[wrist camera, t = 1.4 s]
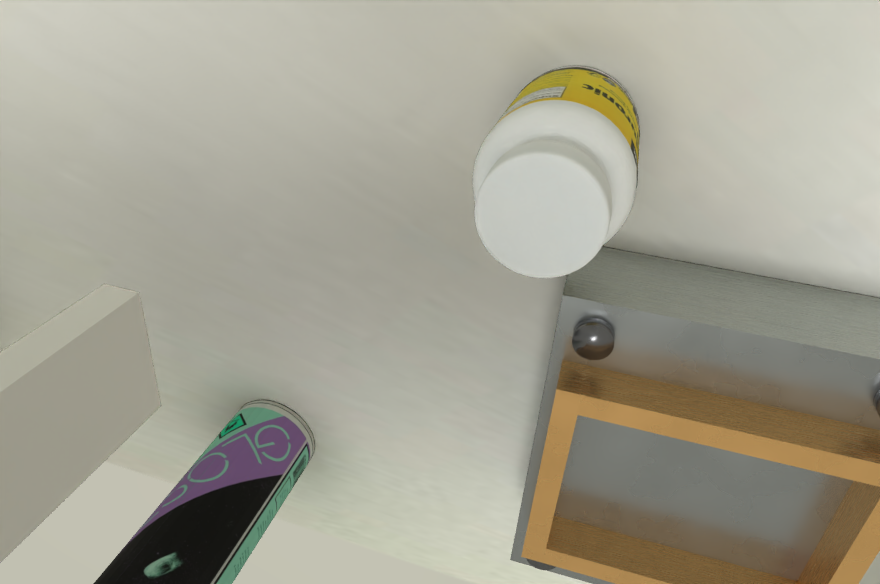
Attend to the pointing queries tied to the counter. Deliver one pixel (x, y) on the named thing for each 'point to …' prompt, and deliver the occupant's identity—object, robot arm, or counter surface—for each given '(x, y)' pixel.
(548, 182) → the supplement bottle
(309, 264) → the counter surface
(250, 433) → the spray can
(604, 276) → the mold
